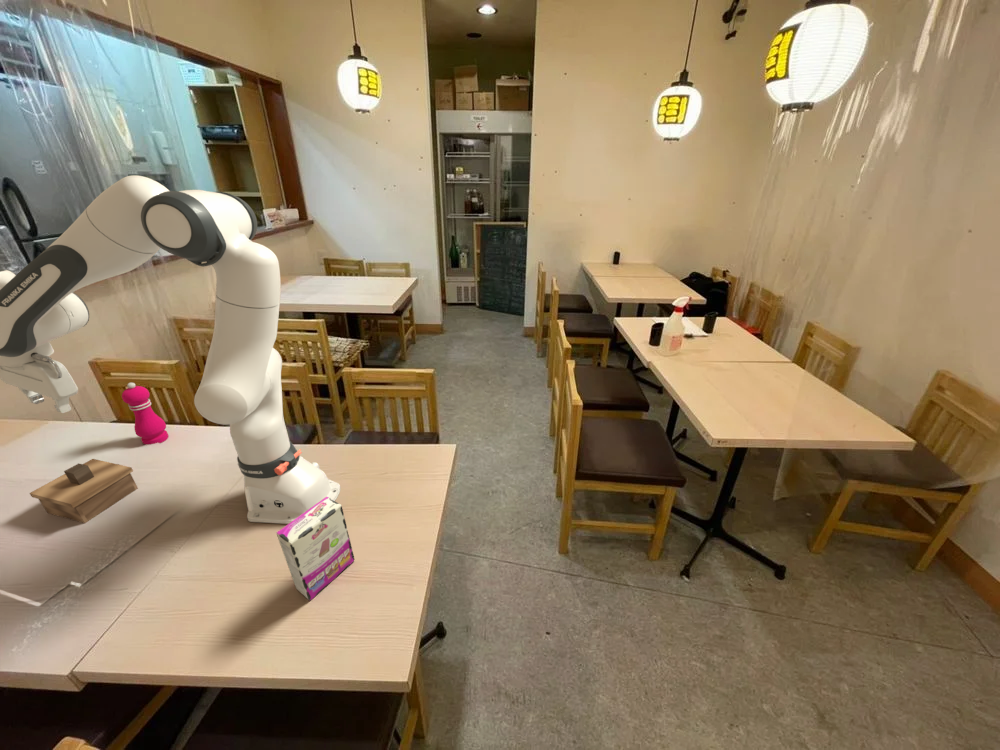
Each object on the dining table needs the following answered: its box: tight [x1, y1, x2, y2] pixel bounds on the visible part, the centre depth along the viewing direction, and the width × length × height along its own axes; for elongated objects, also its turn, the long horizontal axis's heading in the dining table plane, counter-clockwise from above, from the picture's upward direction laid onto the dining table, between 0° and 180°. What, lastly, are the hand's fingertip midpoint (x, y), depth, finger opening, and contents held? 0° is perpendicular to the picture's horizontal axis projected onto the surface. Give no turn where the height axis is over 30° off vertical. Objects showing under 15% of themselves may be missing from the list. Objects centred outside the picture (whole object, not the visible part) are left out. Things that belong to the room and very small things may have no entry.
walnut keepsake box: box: [38, 473, 139, 524], centre depth 98 cm, size 12×12×6 cm
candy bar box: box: [275, 496, 356, 601], centre depth 79 cm, size 11×5×16 cm, turn 148°
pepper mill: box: [121, 382, 169, 446], centre depth 118 cm, size 7×7×20 cm
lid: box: [29, 458, 134, 508], centre depth 96 cm, size 13×13×5 cm
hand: (51, 406), depth 89 cm, fingers open, 8 cm apart
